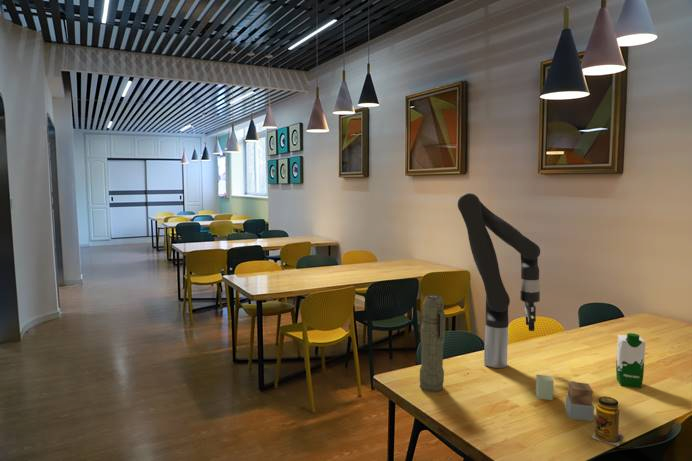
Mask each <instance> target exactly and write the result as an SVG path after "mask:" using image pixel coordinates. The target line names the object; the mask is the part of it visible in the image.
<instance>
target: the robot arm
mask: <svg viewBox="0 0 692 461" xmlns="http://www.w3.org/2000/svg"><path fill="white" fill-rule="evenodd" d="M457 209H458V211H459V213H460V215H461V216H462V219H463V221H464V223H465V228H466V230H467V236H468V242H469V248H470V250H471V254H472V258H473V261H474V263H475V266H476V268H477V271H478V272H479V275H480V277H481V280H482V283H483V286H484V291H485V330H484V331H485V332H484V335H485V336H484V349H483V350H484V351H483V356H484V357H483V363H484V366H487V367H489V368H493V369H503V368H504V369H505V368H507V366H508V345H509V344H508V342H509V340H508V339H509V307H510V306H509V305H510V303H511V302H510V301H511V299H510V295H509V293H508V292H507V290H506V288H505V286H504V283H503V280H502V276H501V272H500V266H499V262H498V256H497V253H496V250H495V249H496V248H495V247H494V244H493V241H492V238H491V235H490V234H489V231H488V230H490V231H491V233H493V234H494V235H495V236H497V237H498V238H499V239H500V240H501V241H503V242H504V243H505V244H507V245H508V246H510V247H512V248H513V249H514V250H515V251H516V252H518V253H519V254H520V263H521V264H520V265H521V269H520V272H521V273H520V276H521V277H520V288H519V290H520V294H519V296H520V300H521V302H524V316H525V325H526V326H528V327H527V329H528V331H529V332H534V331H535V323H536V321H537V319H536V317H537V314H536V313H537V312H536V310H537V307H536V305H535V303H538V302H540V300H541V297H540V296H541V293H540V292H541V290H540V289H541V285H540V284H541V283H540V268H539V263H538V262H539V261H538V260H539V256H540V255H541V248H540V246H539V245H538V244H537V243H536V242H533V241H532V240H531V239H530V238H528V237H526V236H525V235H523V233H521V231H520V230H518V229H517V228H516V227H514V226H513V225H512V224H510V223H508V222H507V221H505V220H504V219H503V218H501V217H499V216H498V215H496V214H495V213H494V212H493V211H491V210H490V209H489V208H487V206H486V205H485V204H483V203H482V201H481V200H480V198H479V197H478V196H477V195H476V194H474V193H471V192H468V193H467V192H466V193H464V194H462V195H461V196H460V197H459V199H458V200H457Z"/></svg>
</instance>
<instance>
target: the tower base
mask: <svg viewBox="0 0 692 461" xmlns="http://www.w3.org/2000/svg"><path fill="white" fill-rule="evenodd" d="M564 409H565V411H566V413H567V416H568V418H569V419H572V420H580V421H589V422H594V416H595V406H594V404H593V403H592V406H589V405H580V404H572V403H571V401H570V399H569V397H568V394H565V408H564Z"/></svg>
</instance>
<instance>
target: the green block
mask: <svg viewBox="0 0 692 461" xmlns="http://www.w3.org/2000/svg"><path fill="white" fill-rule="evenodd" d="M535 395H536V397H537V399H538V400H549V401H553V400H554V399H553V398H554V378H553V377H552V375H546V374H545V375H544V374H536V375H535Z"/></svg>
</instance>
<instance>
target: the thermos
mask: <svg viewBox="0 0 692 461" xmlns="http://www.w3.org/2000/svg"><path fill="white" fill-rule="evenodd" d="M444 307H445V306H444V300H443V297H441V296H440V295H437V294H428V295H425V297H424V299H423V303H422V307H421V314H420V320H421V322H420V324H421V325H420V343H421V364H420V365H421V366H420V367H419V388H420V389H421V390H422V391H424V392H428V393H439V392H442V391H443V390H444V381H445V380H444V378H445V371H444V368H443V364H444V363H443V362H444V360H443V359H444V345H445V340H446V338H445V337H446V333H445V332H446V317H447V316H446V312H445V311H444V310H445V308H444Z"/></svg>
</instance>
